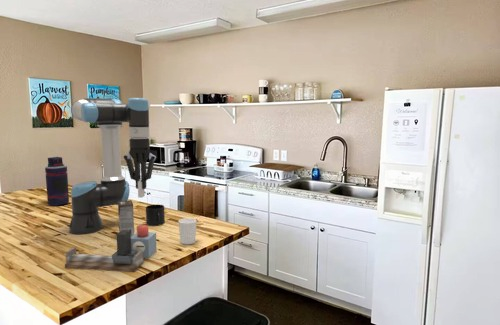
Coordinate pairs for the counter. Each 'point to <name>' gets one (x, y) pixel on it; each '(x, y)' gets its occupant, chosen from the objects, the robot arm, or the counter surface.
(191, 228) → the white cup
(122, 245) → the carriage
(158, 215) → the mug
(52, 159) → the striped navy bottle
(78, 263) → the rail
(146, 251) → the pale blue block
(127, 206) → the coffee box
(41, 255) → the counter surface
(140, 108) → the robot arm
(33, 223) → the counter surface
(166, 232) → the counter surface
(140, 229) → the plunger
